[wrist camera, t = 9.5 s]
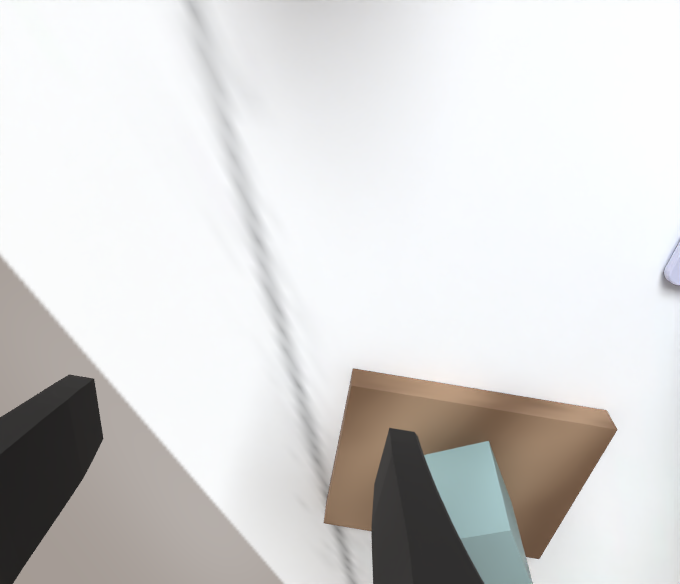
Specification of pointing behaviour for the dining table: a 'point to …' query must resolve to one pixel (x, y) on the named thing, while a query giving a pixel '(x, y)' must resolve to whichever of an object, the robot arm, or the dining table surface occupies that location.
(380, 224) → the dining table surface
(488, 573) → the teal cube
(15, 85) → the dining table surface
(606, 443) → the walnut board
